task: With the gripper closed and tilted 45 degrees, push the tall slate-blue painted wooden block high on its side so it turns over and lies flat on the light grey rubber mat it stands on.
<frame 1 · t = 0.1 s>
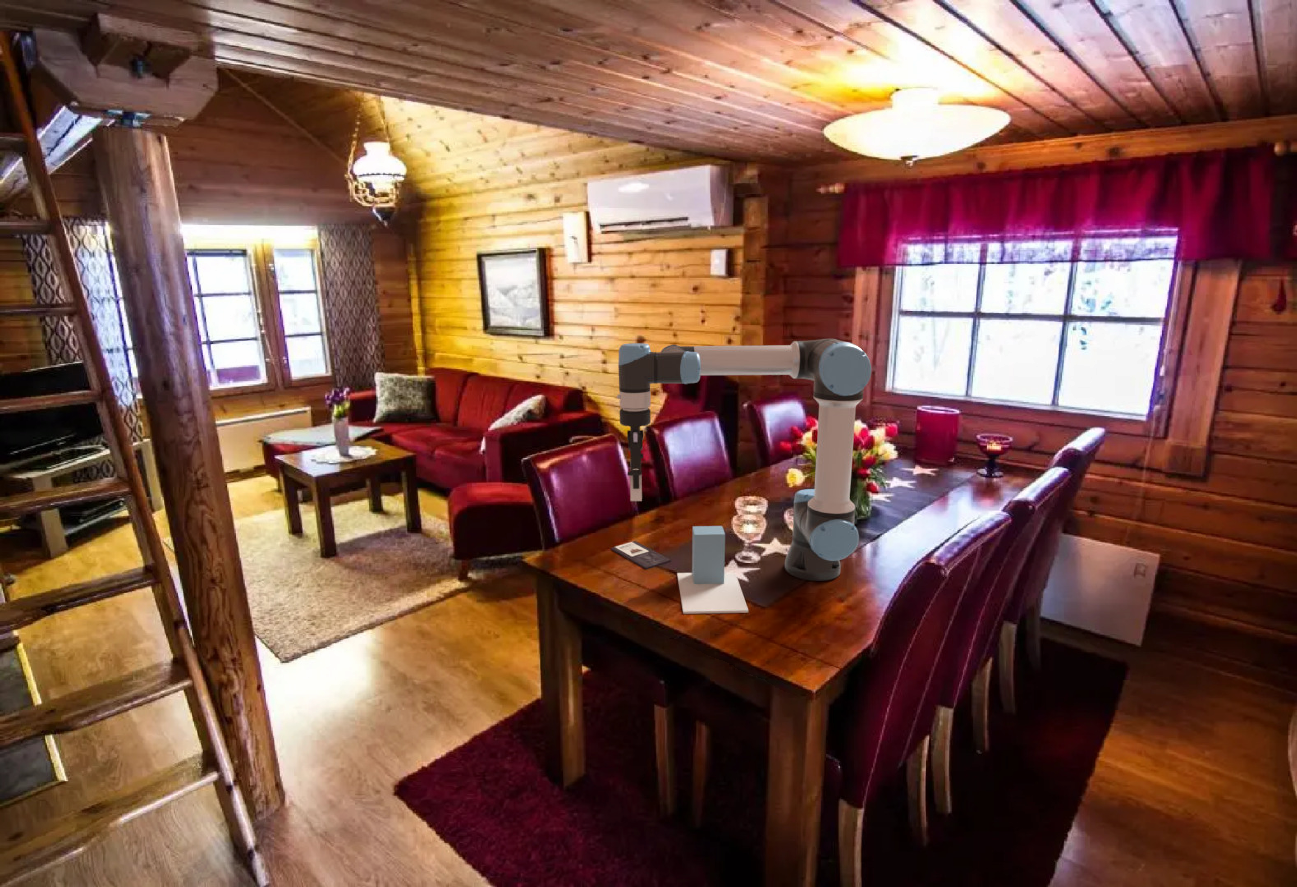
hand: (636, 491, 169), 28 cm above the table, fingers open, 13 cm apart
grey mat: (710, 592, 177), on the table
blue block: (707, 578, 183), point 1 cm above the table, touching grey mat
chocolate bar: (640, 557, 201), on the table
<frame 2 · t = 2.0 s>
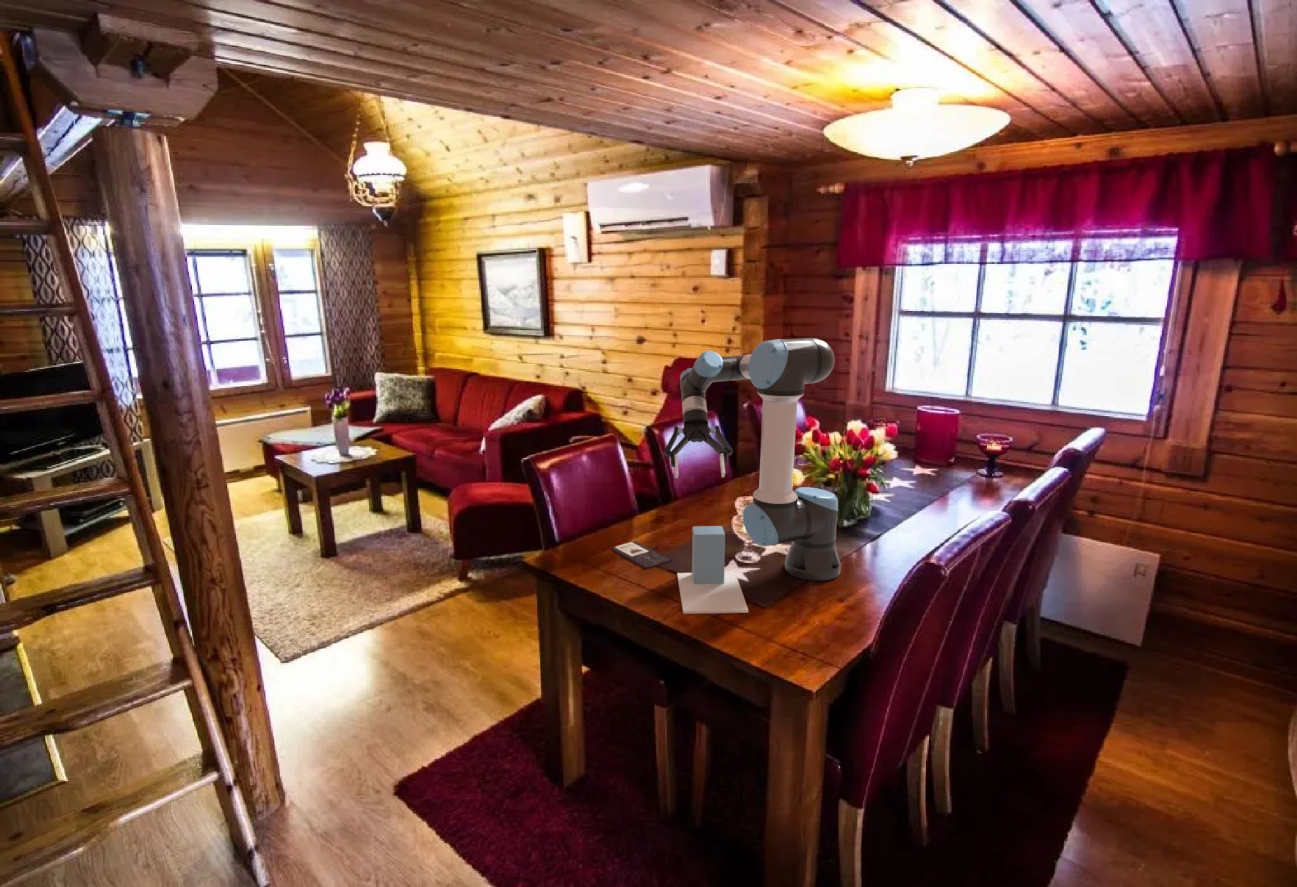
hand: (700, 475, 197), 24 cm above the table, fingers open, 13 cm apart
nothing on the table moved.
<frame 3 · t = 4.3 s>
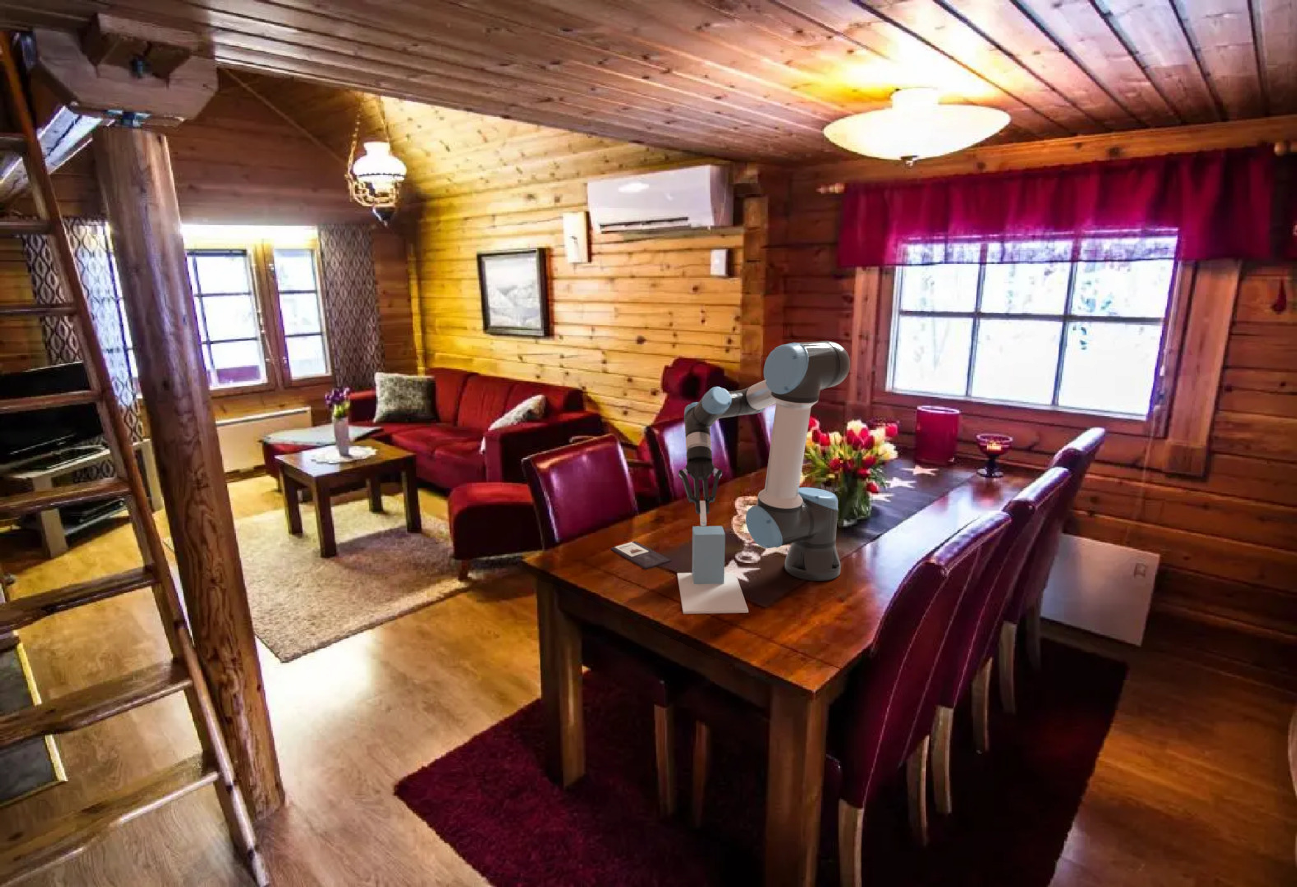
hand: (703, 523, 189), 13 cm above the table, fingers closed
nothing on the table moved.
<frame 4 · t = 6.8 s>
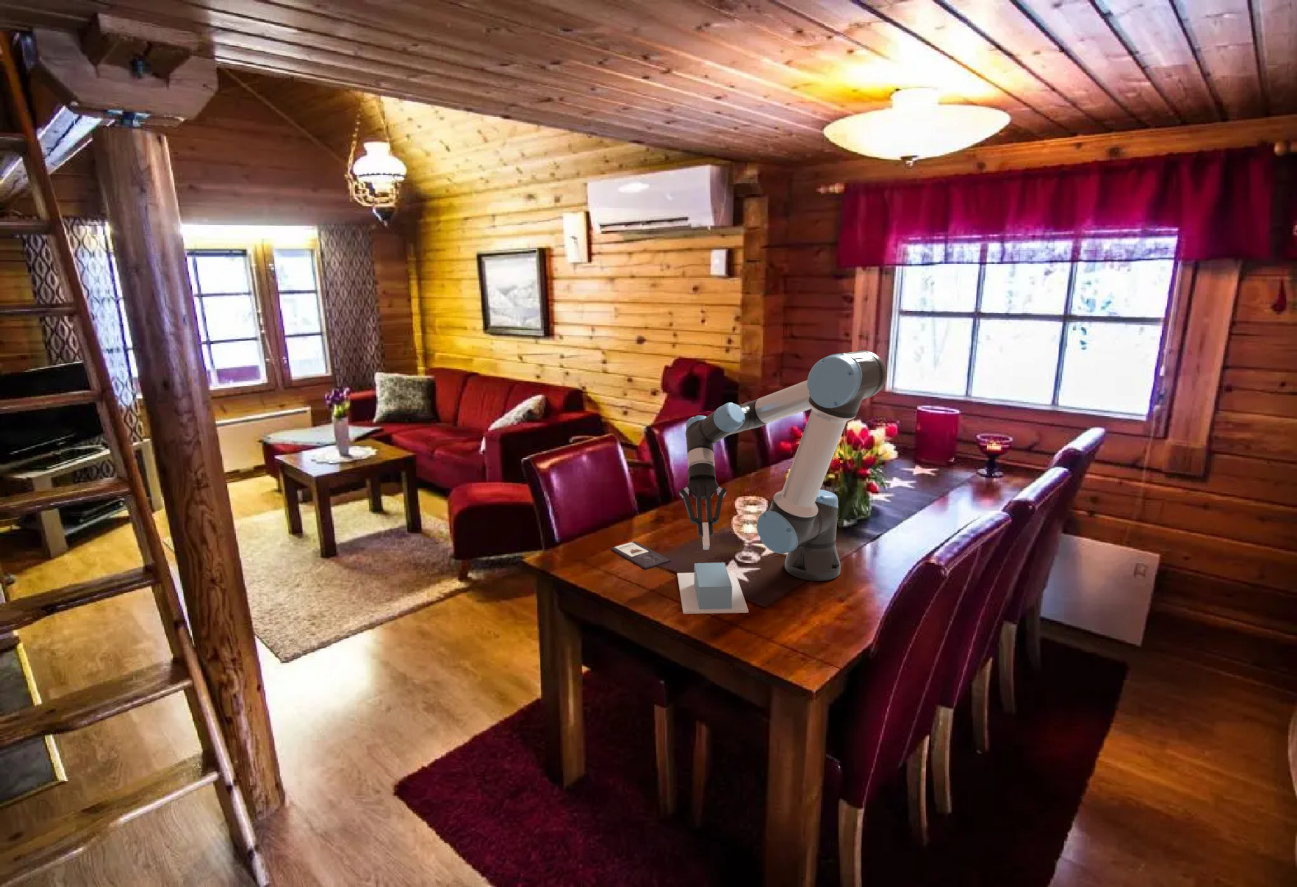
hand: (706, 547, 176), 12 cm above the table, fingers closed
blue block: (709, 573, 180), point 4 cm above the table, tilted 90°, touching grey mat
everything else where it was.
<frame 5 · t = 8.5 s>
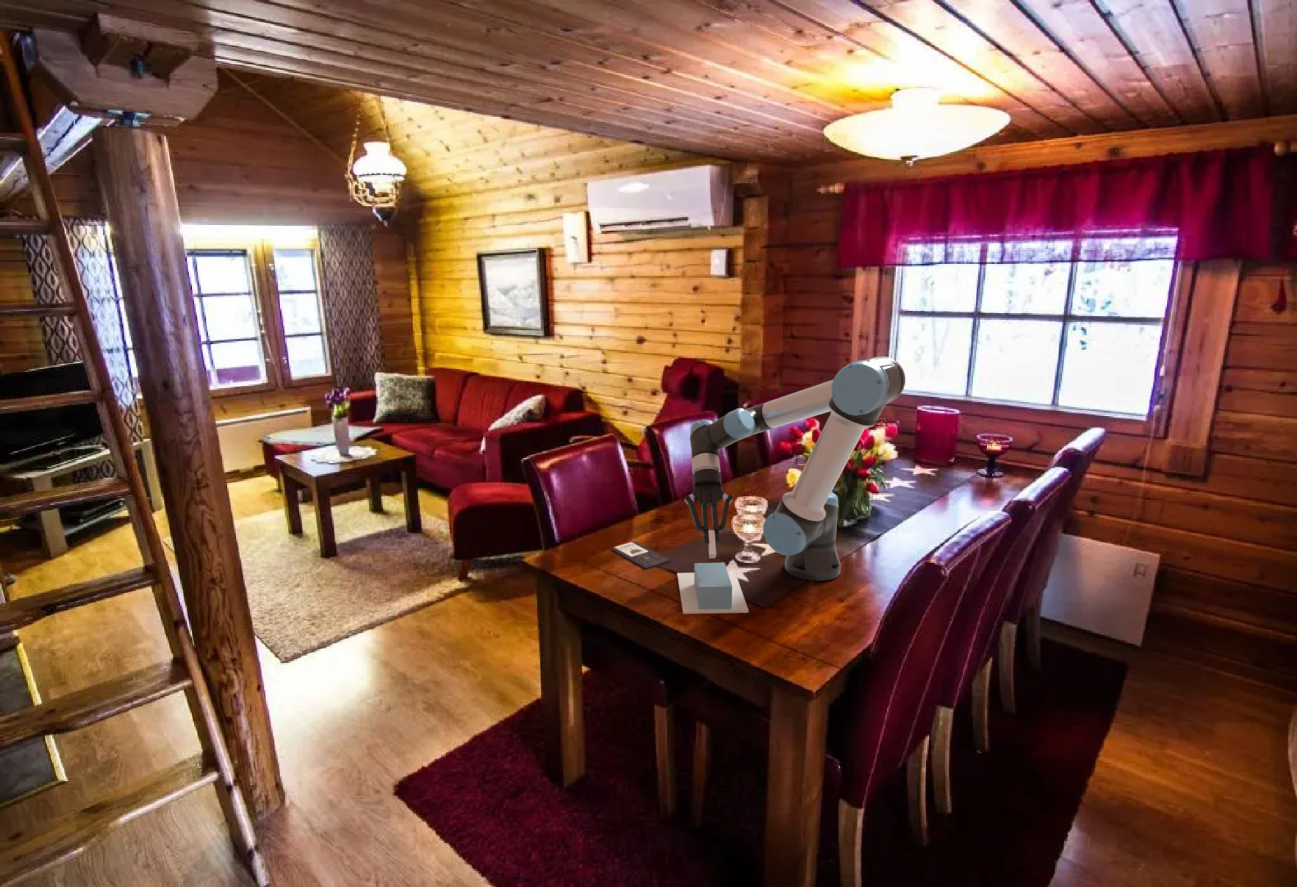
hand: (712, 556, 171), 12 cm above the table, fingers closed
nothing on the table moved.
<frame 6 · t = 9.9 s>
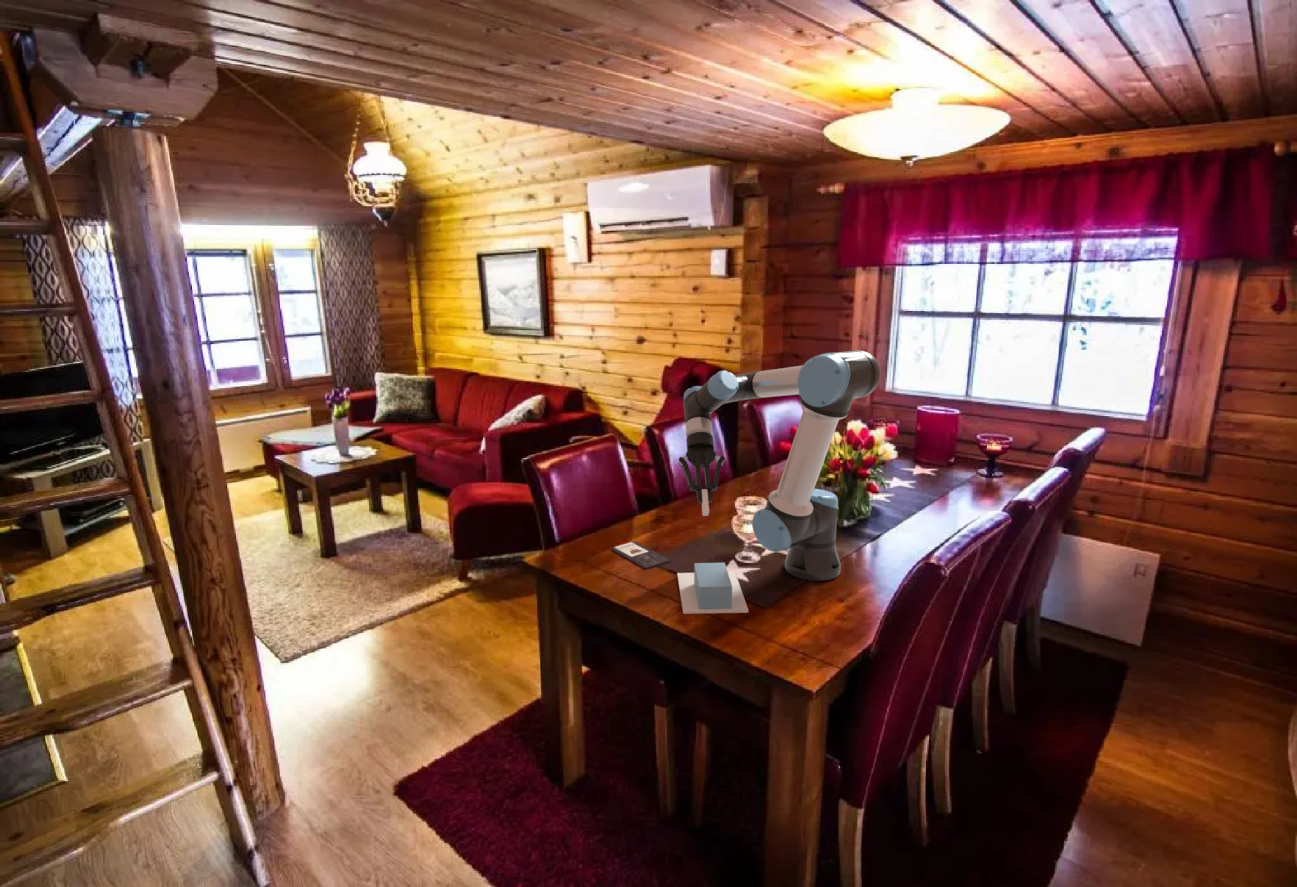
hand: (705, 513, 179), 19 cm above the table, fingers closed
nothing on the table moved.
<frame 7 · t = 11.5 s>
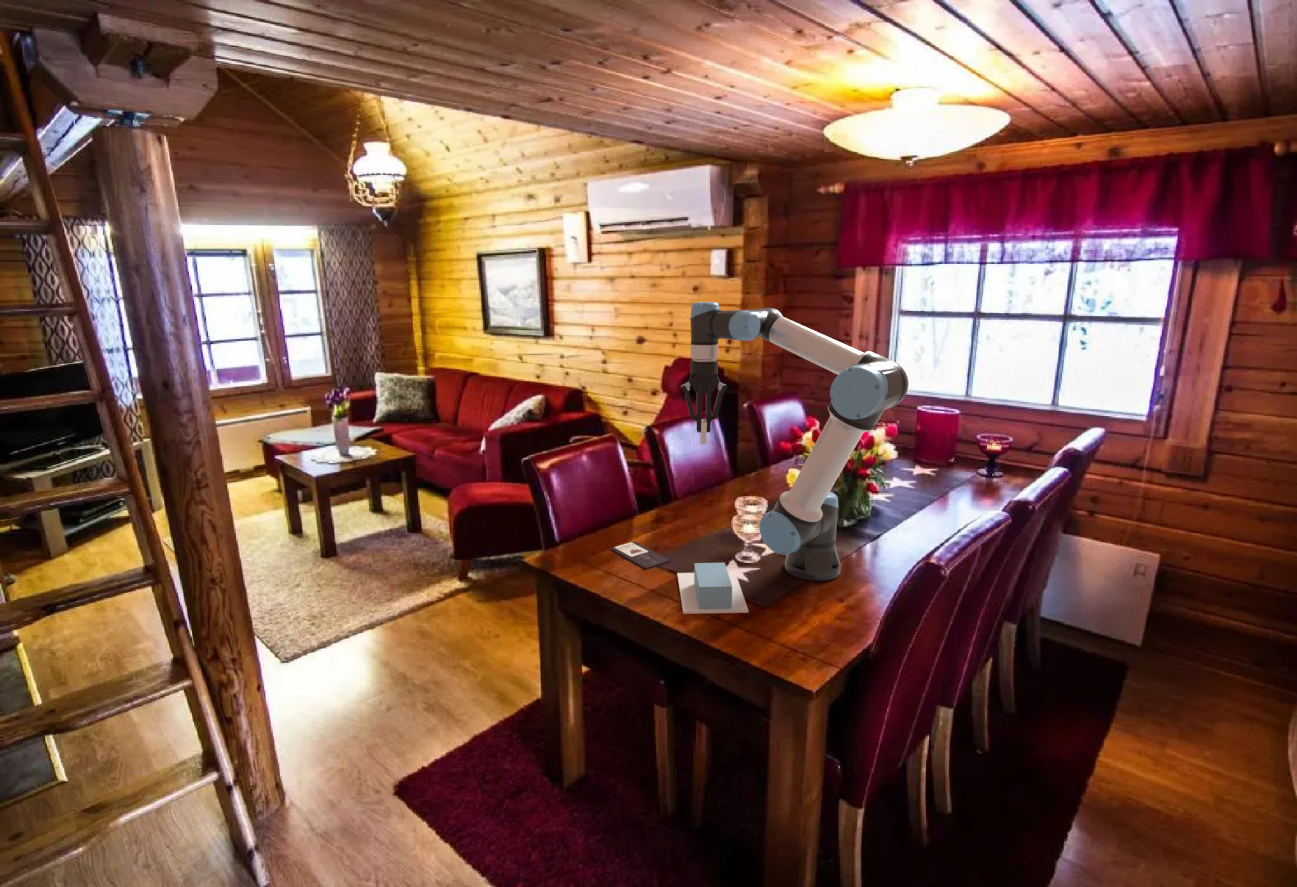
hand: (703, 443, 191), 34 cm above the table, fingers closed
nothing on the table moved.
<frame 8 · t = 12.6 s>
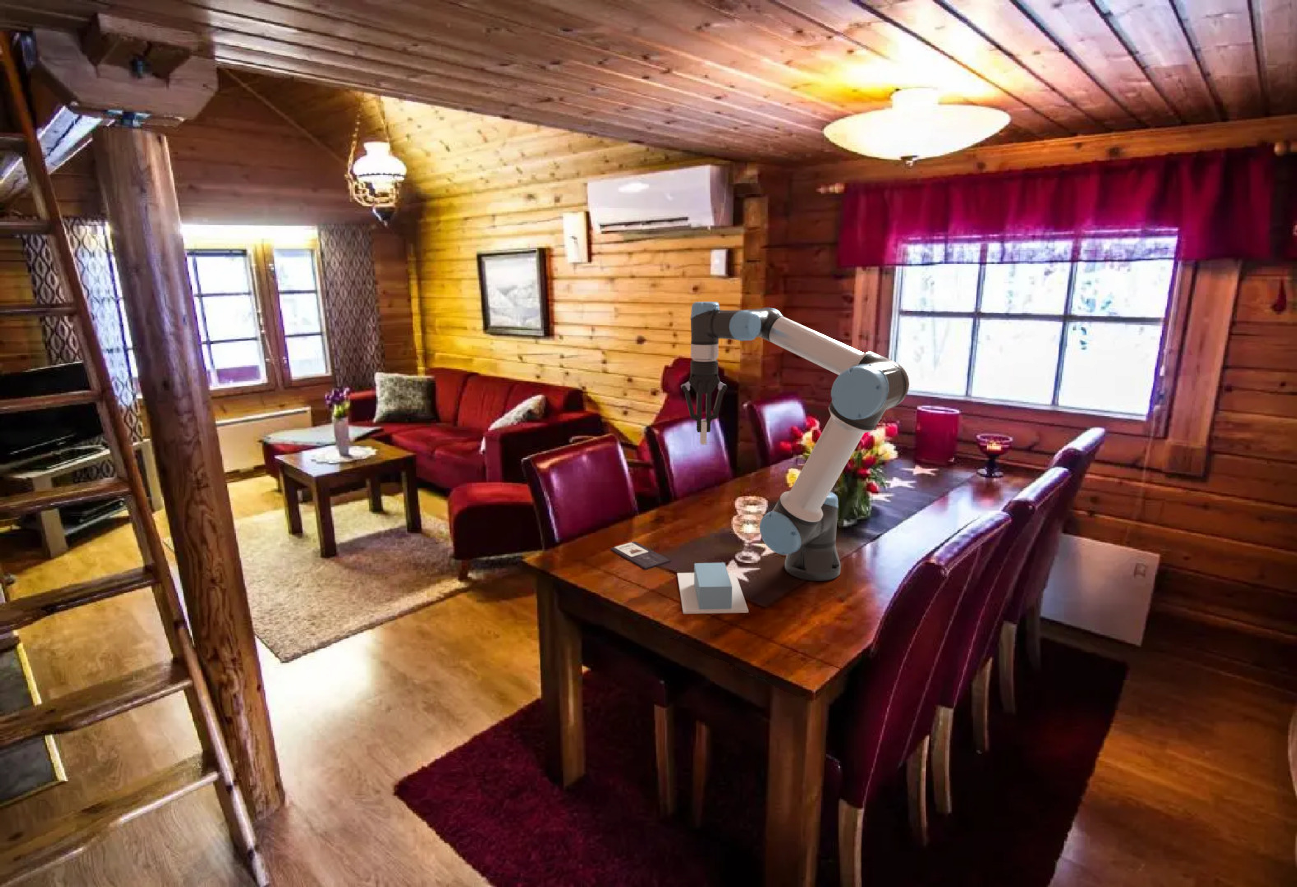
hand: (703, 443, 191), 34 cm above the table, fingers closed
nothing on the table moved.
at the end: blue block tilted 90°; blue block touching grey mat; blue block inside the target area (5.0 cm from its centre), point 3.6 cm above the table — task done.
